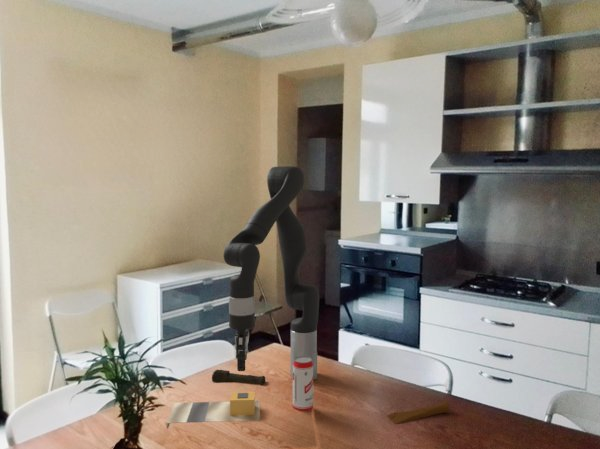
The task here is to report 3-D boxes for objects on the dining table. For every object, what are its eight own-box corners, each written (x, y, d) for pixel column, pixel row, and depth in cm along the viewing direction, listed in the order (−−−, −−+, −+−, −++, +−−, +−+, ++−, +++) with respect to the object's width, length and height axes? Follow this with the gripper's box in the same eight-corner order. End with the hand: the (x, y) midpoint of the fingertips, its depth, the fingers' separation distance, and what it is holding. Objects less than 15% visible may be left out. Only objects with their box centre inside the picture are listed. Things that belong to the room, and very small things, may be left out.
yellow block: (254, 405, 143) (254, 390, 143) (254, 414, 138) (254, 399, 137) (231, 406, 143) (231, 391, 142) (230, 415, 137) (230, 399, 137)
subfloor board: (260, 405, 147) (260, 400, 147) (259, 425, 135) (259, 420, 135) (175, 407, 145) (174, 402, 145) (166, 427, 133) (166, 422, 133)
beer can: (316, 408, 145) (316, 357, 144) (308, 417, 139) (308, 364, 138) (297, 404, 148) (298, 354, 146) (289, 412, 142) (289, 361, 141)
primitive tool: (395, 425, 136) (395, 413, 135) (385, 416, 141) (386, 405, 141) (452, 415, 142) (452, 404, 141) (441, 407, 147) (441, 396, 147)
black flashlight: (266, 385, 161) (266, 372, 161) (262, 390, 158) (262, 377, 157) (215, 379, 167) (215, 366, 166) (210, 383, 163) (210, 370, 162)
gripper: (254, 317, 131) (254, 374, 132) (255, 304, 145) (255, 355, 146) (226, 318, 130) (227, 375, 132) (230, 304, 144) (231, 356, 146)
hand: (242, 364), depth 139 cm, fingers open, 8 cm apart
